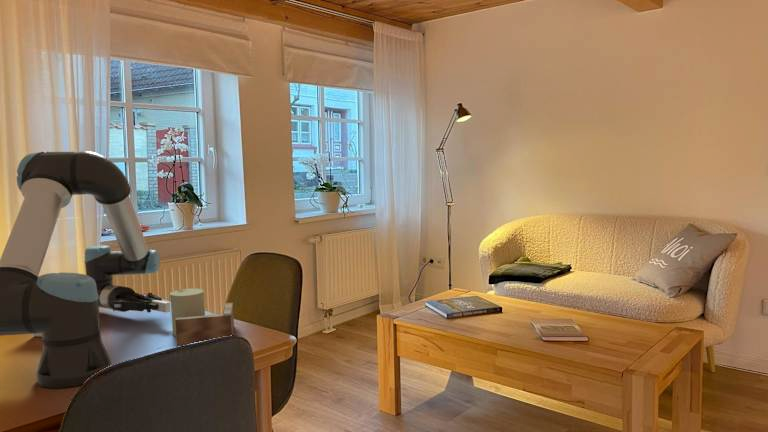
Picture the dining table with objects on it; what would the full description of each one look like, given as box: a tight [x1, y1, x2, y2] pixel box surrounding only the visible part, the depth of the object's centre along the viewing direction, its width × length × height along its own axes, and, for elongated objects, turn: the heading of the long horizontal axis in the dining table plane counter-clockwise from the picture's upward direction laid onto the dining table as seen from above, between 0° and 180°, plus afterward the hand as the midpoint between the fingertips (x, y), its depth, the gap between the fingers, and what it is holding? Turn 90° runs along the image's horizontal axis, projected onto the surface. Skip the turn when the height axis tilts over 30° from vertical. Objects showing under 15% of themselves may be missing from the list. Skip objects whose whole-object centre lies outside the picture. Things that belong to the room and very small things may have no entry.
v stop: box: [175, 302, 235, 347], centre depth 161 cm, size 11×20×7 cm, turn 147°
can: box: [169, 287, 206, 337], centre depth 167 cm, size 9×9×12 cm
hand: (167, 307), depth 171 cm, fingers closed
